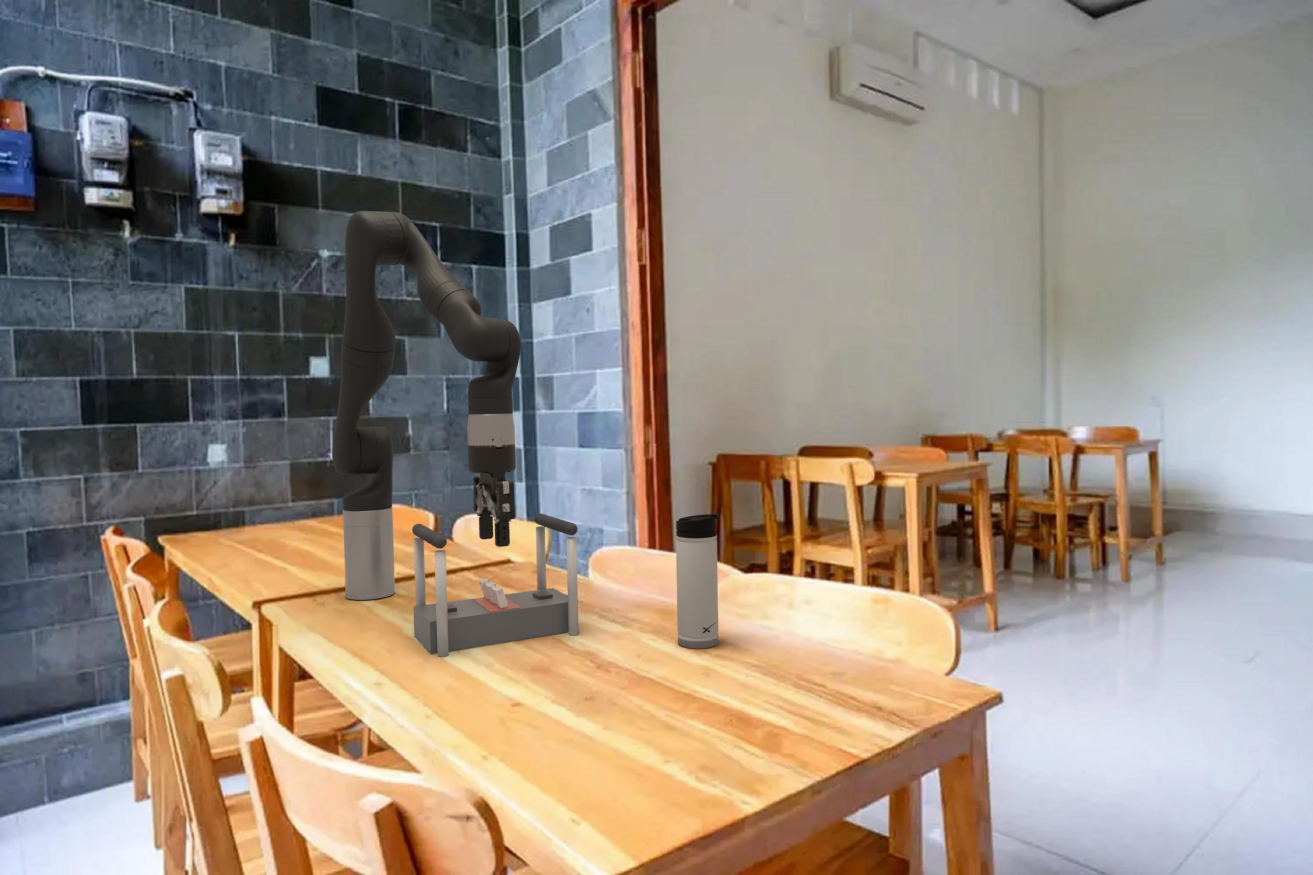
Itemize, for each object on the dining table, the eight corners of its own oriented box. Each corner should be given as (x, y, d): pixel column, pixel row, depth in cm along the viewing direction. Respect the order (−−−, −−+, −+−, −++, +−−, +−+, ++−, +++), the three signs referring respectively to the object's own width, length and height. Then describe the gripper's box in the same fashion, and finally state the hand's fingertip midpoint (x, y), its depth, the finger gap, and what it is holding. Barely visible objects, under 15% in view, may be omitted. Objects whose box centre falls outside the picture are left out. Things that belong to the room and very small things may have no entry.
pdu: (411, 633, 134) (408, 538, 133) (548, 612, 145) (546, 525, 145) (434, 658, 120) (431, 552, 119) (584, 633, 132) (582, 537, 131)
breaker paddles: (483, 597, 136) (478, 580, 136) (490, 594, 137) (485, 577, 136) (500, 608, 128) (495, 590, 128) (507, 605, 129) (502, 587, 128)
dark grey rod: (532, 524, 144) (532, 513, 143) (543, 523, 144) (543, 512, 144) (568, 536, 129) (567, 524, 129) (579, 535, 130) (579, 523, 130)
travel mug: (717, 650, 122) (716, 516, 121) (674, 648, 123) (672, 516, 122) (723, 638, 128) (721, 511, 127) (681, 636, 129) (679, 510, 128)
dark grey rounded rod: (411, 535, 133) (410, 523, 133) (423, 534, 134) (423, 522, 134) (434, 550, 119) (434, 536, 119) (448, 548, 120) (448, 535, 120)
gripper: (456, 442, 136) (459, 538, 136) (481, 444, 123) (484, 551, 124) (500, 440, 139) (502, 534, 140) (528, 442, 127) (531, 546, 127)
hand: (494, 542), depth 132 cm, fingers open, 8 cm apart
